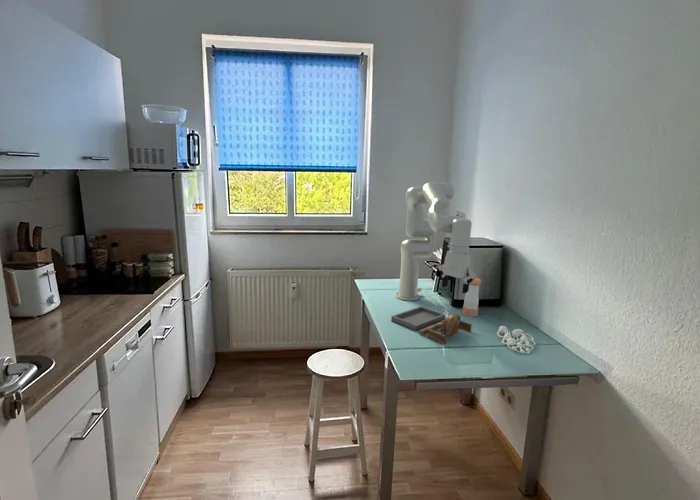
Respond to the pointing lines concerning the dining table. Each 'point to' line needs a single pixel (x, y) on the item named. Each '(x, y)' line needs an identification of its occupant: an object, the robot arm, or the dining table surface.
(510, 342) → the tangled rod sculpture
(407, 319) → the tray
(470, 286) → the pepper shaker
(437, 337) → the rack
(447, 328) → the tin
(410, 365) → the dining table surface
